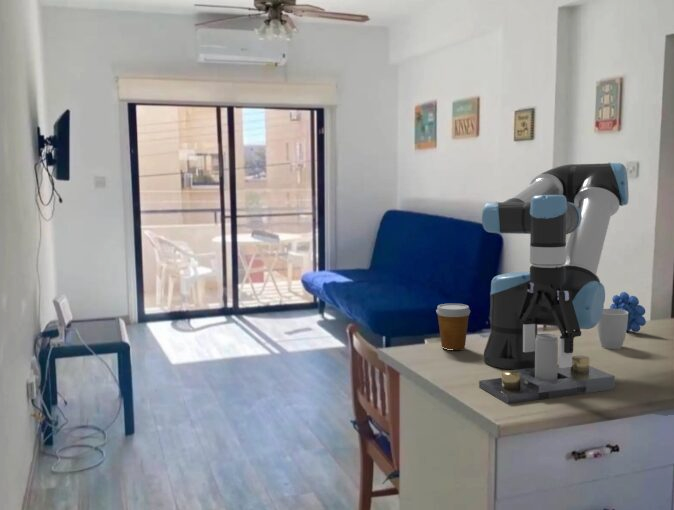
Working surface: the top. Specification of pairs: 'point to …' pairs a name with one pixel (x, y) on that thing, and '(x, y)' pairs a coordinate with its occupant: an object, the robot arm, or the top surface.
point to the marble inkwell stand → (549, 383)
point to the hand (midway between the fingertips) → (546, 359)
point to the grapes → (630, 310)
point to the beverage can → (546, 357)
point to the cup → (612, 328)
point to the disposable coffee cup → (453, 325)
